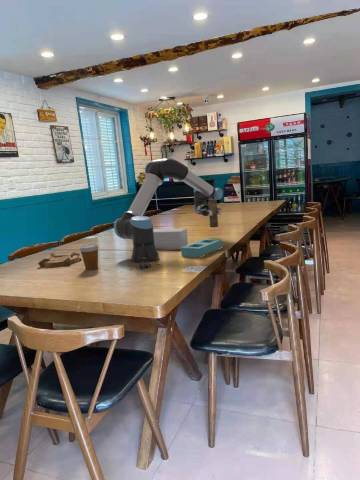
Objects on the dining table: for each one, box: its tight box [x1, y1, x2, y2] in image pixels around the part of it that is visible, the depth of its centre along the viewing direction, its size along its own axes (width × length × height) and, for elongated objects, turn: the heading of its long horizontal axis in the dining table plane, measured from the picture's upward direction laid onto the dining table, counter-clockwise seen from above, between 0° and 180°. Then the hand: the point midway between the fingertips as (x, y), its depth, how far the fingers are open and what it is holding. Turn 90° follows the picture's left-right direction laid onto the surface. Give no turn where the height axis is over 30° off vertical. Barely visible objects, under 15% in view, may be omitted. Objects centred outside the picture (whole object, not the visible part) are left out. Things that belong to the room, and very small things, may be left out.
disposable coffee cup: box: [79, 243, 99, 271], centre depth 180 cm, size 10×10×12 cm
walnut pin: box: [207, 200, 219, 228], centre depth 214 cm, size 5×5×16 cm
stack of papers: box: [153, 227, 189, 249], centre depth 222 cm, size 32×11×11 cm, turn 68°
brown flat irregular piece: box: [37, 251, 82, 269], centre depth 201 cm, size 24×24×5 cm
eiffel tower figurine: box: [129, 245, 162, 271], centre depth 173 cm, size 15×10×13 cm
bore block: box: [180, 238, 223, 258], centre depth 196 cm, size 24×12×5 cm, turn 143°
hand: (215, 212), depth 208 cm, fingers closed on walnut pin, 5 cm apart
